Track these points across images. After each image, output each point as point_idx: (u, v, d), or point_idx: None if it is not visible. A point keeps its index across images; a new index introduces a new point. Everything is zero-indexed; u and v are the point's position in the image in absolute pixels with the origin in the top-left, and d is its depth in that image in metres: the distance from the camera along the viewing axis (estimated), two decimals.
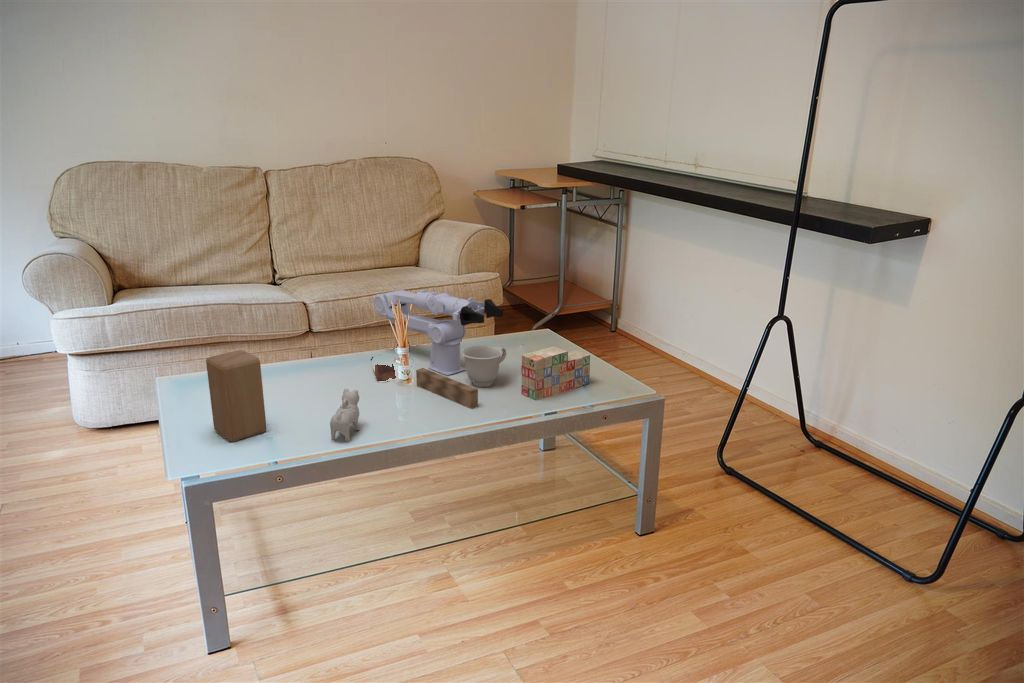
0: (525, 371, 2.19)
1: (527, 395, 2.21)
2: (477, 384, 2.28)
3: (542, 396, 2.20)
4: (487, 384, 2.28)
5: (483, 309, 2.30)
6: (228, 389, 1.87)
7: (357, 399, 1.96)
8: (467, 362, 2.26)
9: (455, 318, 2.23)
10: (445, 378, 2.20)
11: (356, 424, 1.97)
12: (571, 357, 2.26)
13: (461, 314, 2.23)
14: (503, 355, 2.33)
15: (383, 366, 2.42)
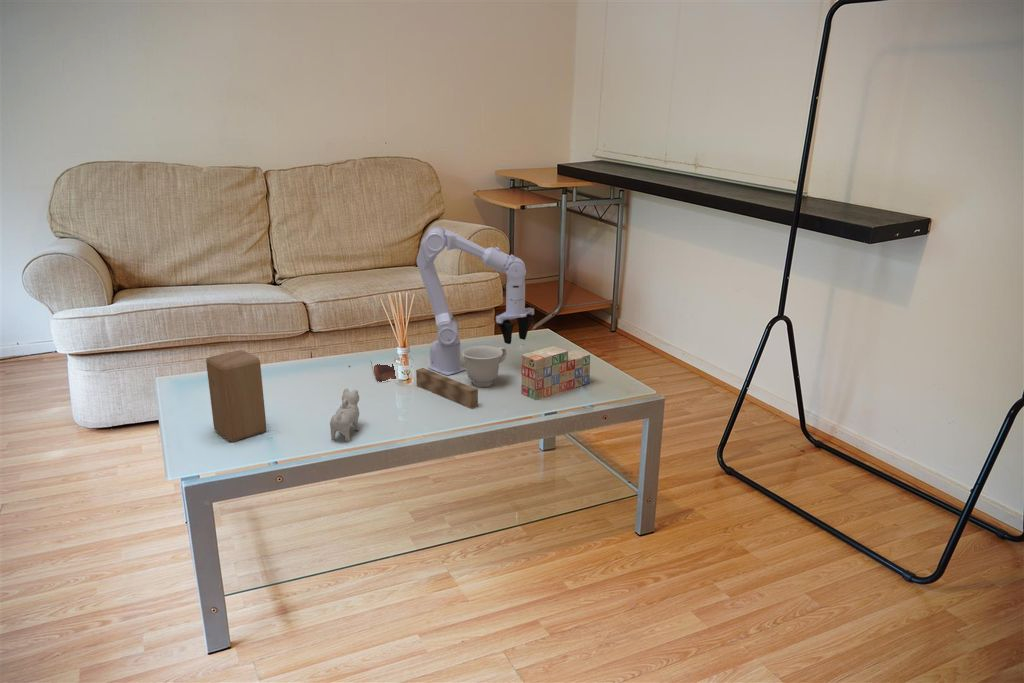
0: (525, 371, 2.20)
1: (527, 395, 2.21)
2: (477, 384, 2.28)
3: (542, 396, 2.20)
4: (487, 384, 2.28)
5: None
6: (228, 389, 1.87)
7: (357, 399, 1.96)
8: (467, 362, 2.26)
9: (497, 320, 2.32)
10: (445, 378, 2.20)
11: (356, 424, 1.97)
12: (571, 357, 2.26)
13: (504, 324, 2.33)
14: (503, 355, 2.33)
15: (383, 366, 2.42)
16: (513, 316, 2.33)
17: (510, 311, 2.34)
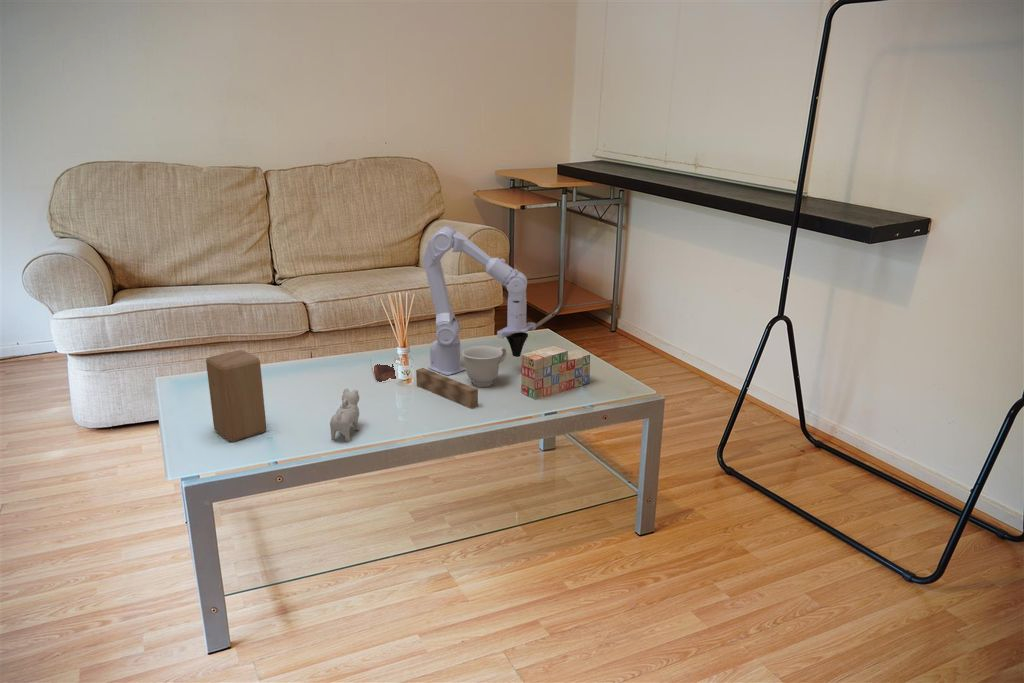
0: (525, 370, 2.20)
1: (527, 394, 2.21)
2: (477, 384, 2.28)
3: (542, 395, 2.20)
4: (487, 384, 2.28)
5: None
6: (228, 389, 1.87)
7: (357, 399, 1.96)
8: (467, 362, 2.26)
9: (498, 335, 2.31)
10: (445, 378, 2.20)
11: (356, 424, 1.97)
12: (571, 356, 2.27)
13: (512, 337, 2.34)
14: (503, 355, 2.33)
15: (383, 366, 2.42)
16: (514, 331, 2.32)
17: (511, 326, 2.33)
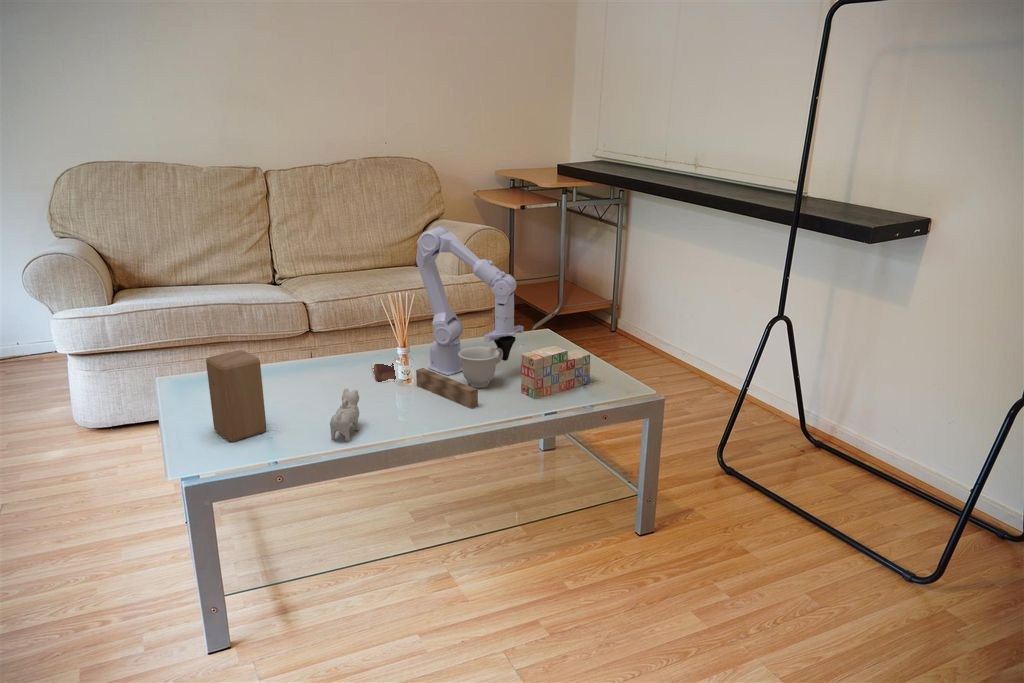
0: (525, 370, 2.20)
1: (527, 394, 2.22)
2: (473, 385, 2.27)
3: (541, 395, 2.21)
4: (483, 385, 2.27)
5: None
6: (228, 389, 1.87)
7: (357, 399, 1.96)
8: (463, 363, 2.25)
9: (485, 339, 2.28)
10: (445, 378, 2.20)
11: (356, 424, 1.97)
12: (571, 356, 2.27)
13: (500, 340, 2.31)
14: (500, 356, 2.32)
15: (383, 366, 2.42)
16: (502, 335, 2.29)
17: (498, 329, 2.30)
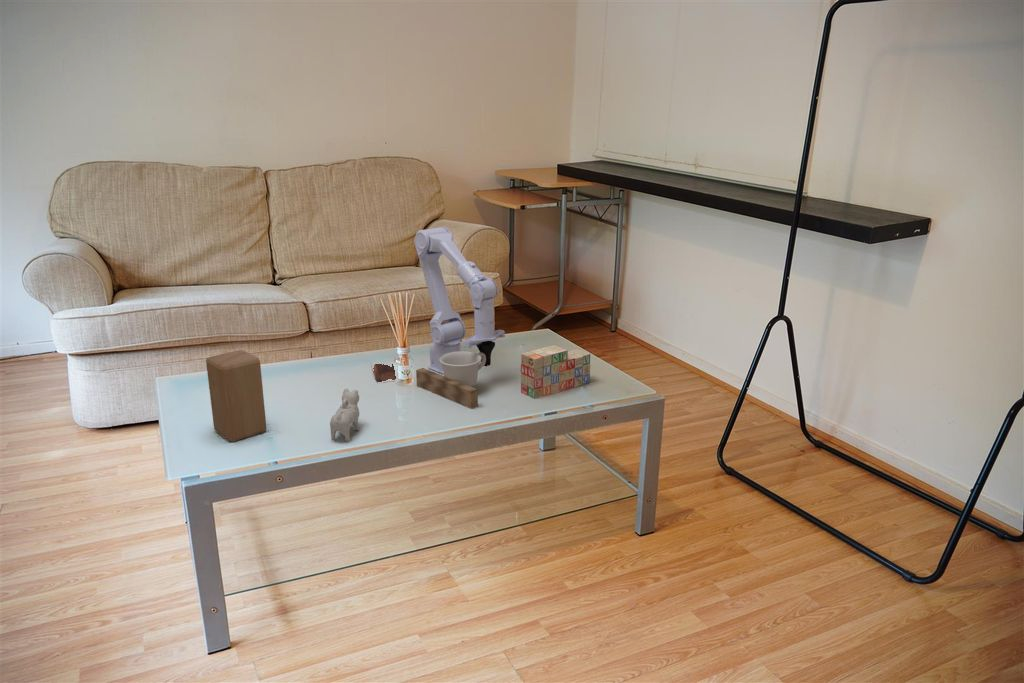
0: (524, 369, 2.21)
1: (526, 393, 2.22)
2: None
3: (541, 394, 2.21)
4: None
5: None
6: (228, 389, 1.87)
7: (357, 399, 1.96)
8: (444, 369, 2.20)
9: (465, 344, 2.22)
10: (445, 378, 2.20)
11: (356, 424, 1.97)
12: (571, 356, 2.27)
13: (482, 345, 2.26)
14: (483, 361, 2.27)
15: (383, 366, 2.42)
16: (482, 340, 2.23)
17: (478, 334, 2.24)
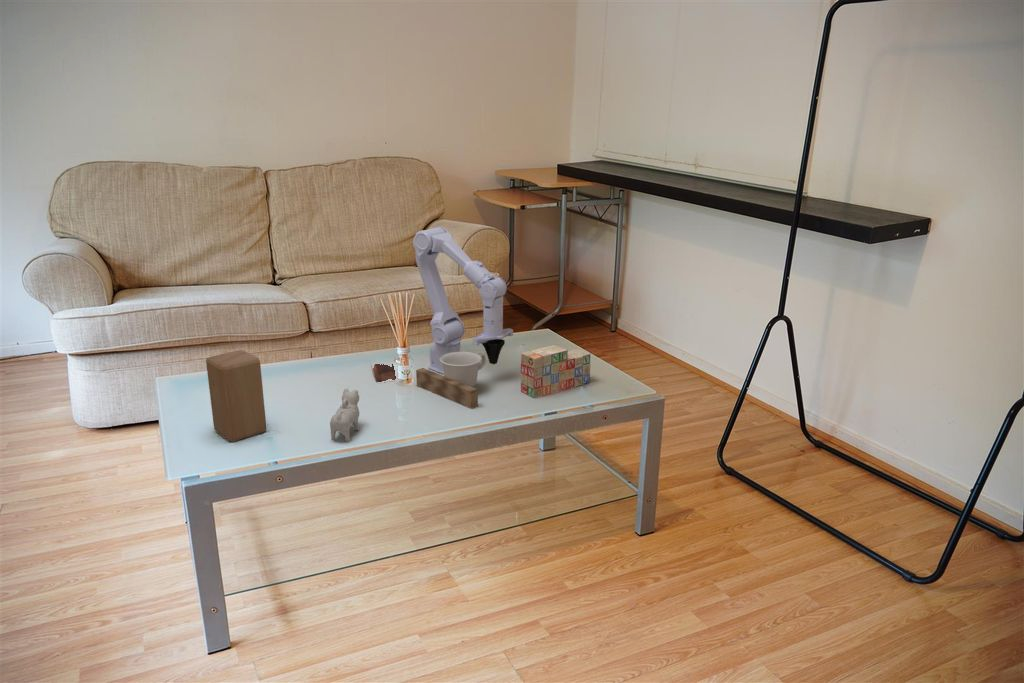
0: (524, 369, 2.21)
1: (526, 393, 2.22)
2: None
3: (541, 394, 2.21)
4: None
5: None
6: (228, 389, 1.87)
7: (357, 399, 1.96)
8: (445, 369, 2.20)
9: (473, 342, 2.25)
10: (445, 378, 2.20)
11: (356, 424, 1.97)
12: (571, 356, 2.27)
13: (488, 344, 2.28)
14: (482, 361, 2.28)
15: (382, 366, 2.42)
16: (490, 338, 2.26)
17: (487, 332, 2.26)
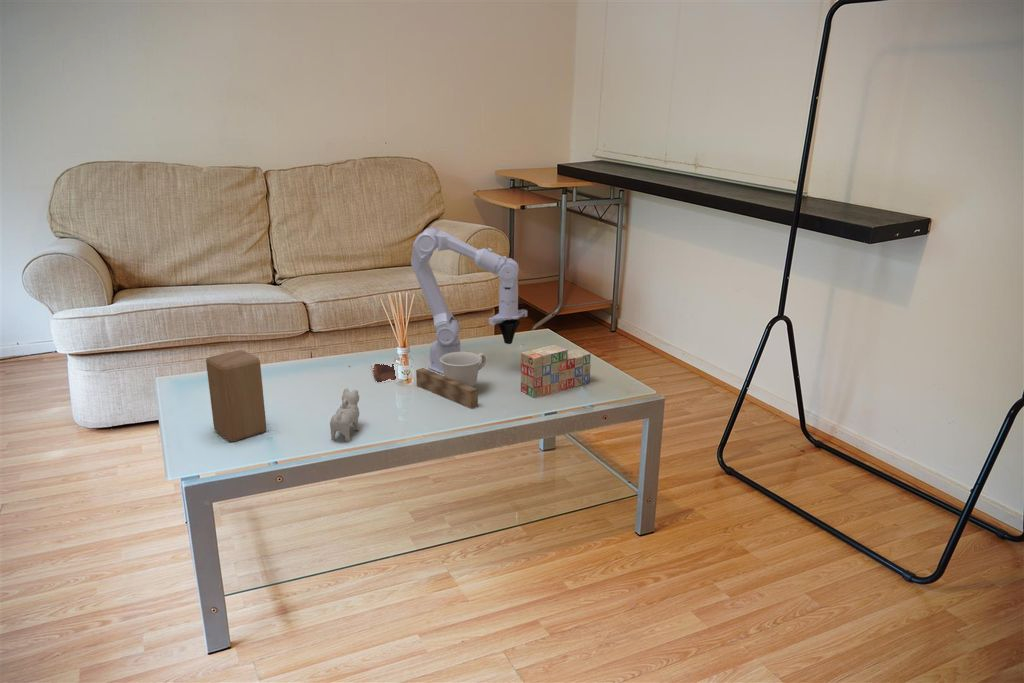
0: (524, 369, 2.21)
1: (526, 392, 2.23)
2: None
3: (541, 394, 2.21)
4: None
5: None
6: (228, 389, 1.87)
7: (357, 399, 1.96)
8: (445, 369, 2.20)
9: (489, 322, 2.30)
10: (445, 378, 2.20)
11: (356, 424, 1.97)
12: (571, 356, 2.27)
13: (504, 324, 2.33)
14: (482, 361, 2.28)
15: (382, 366, 2.42)
16: (506, 318, 2.31)
17: (502, 313, 2.32)
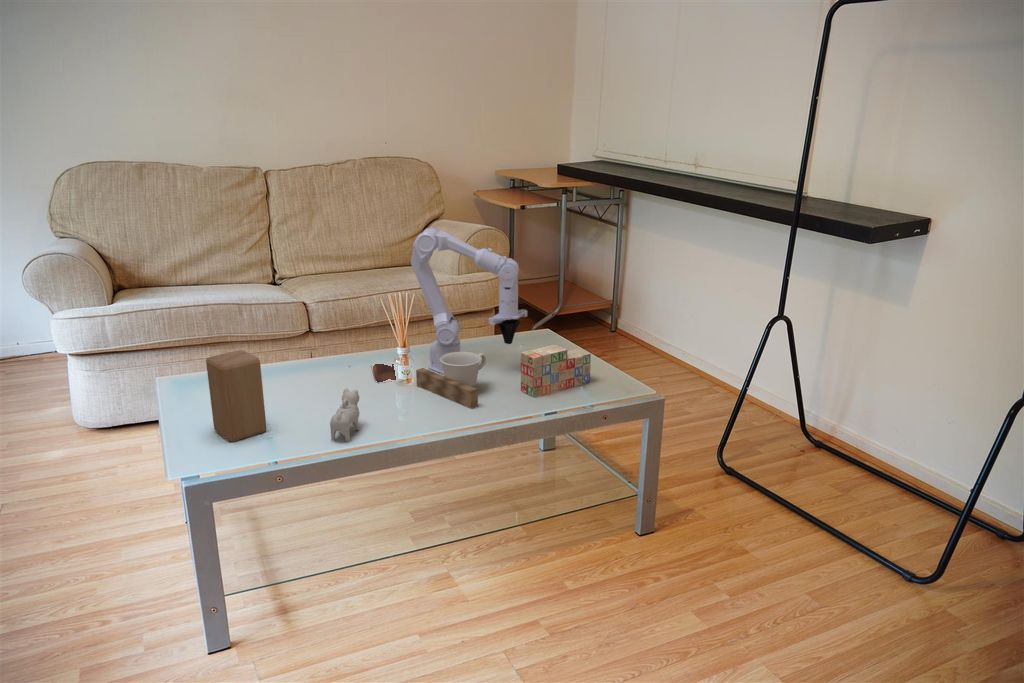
0: (524, 368, 2.21)
1: (526, 392, 2.23)
2: None
3: (541, 393, 2.22)
4: None
5: None
6: (228, 389, 1.87)
7: (357, 399, 1.96)
8: (445, 369, 2.20)
9: (489, 322, 2.30)
10: (445, 378, 2.20)
11: (356, 424, 1.97)
12: (571, 355, 2.27)
13: (504, 324, 2.33)
14: (482, 361, 2.28)
15: (382, 366, 2.42)
16: (506, 318, 2.31)
17: (502, 313, 2.32)
